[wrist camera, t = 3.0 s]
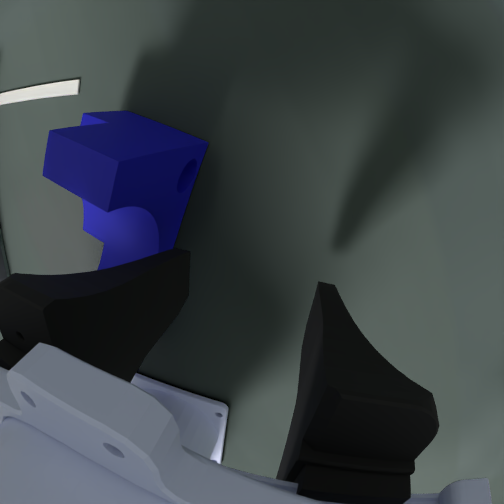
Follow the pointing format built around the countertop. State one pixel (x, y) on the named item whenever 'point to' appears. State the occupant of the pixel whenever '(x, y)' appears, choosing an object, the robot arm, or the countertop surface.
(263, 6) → the countertop surface
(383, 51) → the countertop surface
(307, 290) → the countertop surface
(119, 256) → the blue mounting bracket
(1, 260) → the header strip
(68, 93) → the lane marks
